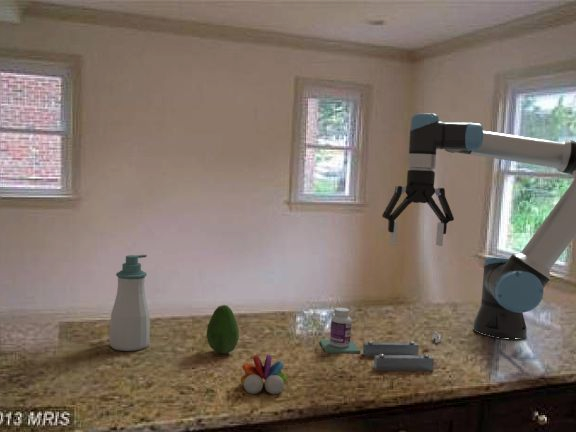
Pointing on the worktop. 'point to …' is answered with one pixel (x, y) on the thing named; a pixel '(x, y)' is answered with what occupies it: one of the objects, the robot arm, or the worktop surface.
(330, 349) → the pad
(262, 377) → the rainbow fan toy
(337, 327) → the pill bottle
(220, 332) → the avocado
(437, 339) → the adhesive hook
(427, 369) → the channel
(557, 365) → the worktop surface
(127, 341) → the soap bottle
